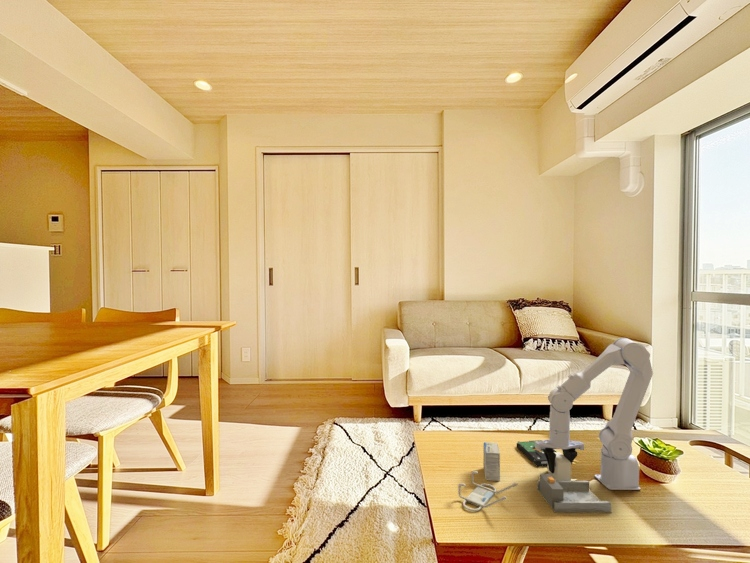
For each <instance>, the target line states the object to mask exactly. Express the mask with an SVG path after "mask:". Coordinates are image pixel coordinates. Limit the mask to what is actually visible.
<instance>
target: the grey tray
mask: <svg viewBox="0 0 750 563" xmlns="http://www.w3.org/2000/svg"><path fill="white" fill-rule="evenodd" d="M557 482H558V483H559V485H560V486H561V487H562V488H563V489H564V497H563V501H554V507H552V506H551V505H550V504H549V503H548V501H547V500H546V499H545V497H544V496H543V495H542V493H541V492H540V480H537V483H536V484H537V486H536V488H537V489H536V490H537V491H538V492H539V493H540V495H541V496H542V497H543V499H544V500H545V501H546V503H547V504H548V505H549V507H550V509H552V510H553V513H559V514H560V513H561V514H562V513H565V514H566V513H569V514H570V513H571V514H574V513H576V514H577V513H579V514H580V513H582V514H583V513H584V514H585V513H588V514H589V513H590V514H591V513H593V514H594V513H599V514H601V513H602V514H603V513H606V514H608V513H609V514H610V513H611V514H612V502H611V501H609V500H602V501H601V500H600V498H598V496H596V495H595V494H594V492H592V490H590V481H589V480H571V481H557Z"/></svg>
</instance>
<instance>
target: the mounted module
mask: <svg viewBox="0 0 750 563" xmlns="http://www.w3.org/2000/svg"><path fill="white" fill-rule="evenodd" d="M539 481H540V492H541V493H542V495H543V496H544V497H545V499H546V500H547V501H548V503H549V504H550V505H551V506H552V507H554V501H563V497H564V489H563V488H562V487H561V486H560V485H559V483H558V482H557V481H556V480H555V478H554V477H553V476H552V475H551V474H550V473H539ZM540 492H539V493H540ZM542 495H541V496H542ZM543 496H542V497H543ZM544 497H543V498H544ZM545 499H544V500H545ZM546 500H545V501H546ZM547 501H546V502H547ZM548 503H547V504H548ZM549 504H548V505H549ZM550 505H549V506H550Z"/></svg>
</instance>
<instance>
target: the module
mask: <svg viewBox="0 0 750 563" xmlns="http://www.w3.org/2000/svg"><path fill="white" fill-rule="evenodd" d="M554 453H555V454H556V458H555V471H554V473H551V472H550V471H549V466H547V473H548V474H551V476H552V477H553V478H554V479H555V480H556V481H572V465H571V462H570V461H569V460H568V459H567V458H566V457H565V456H564V455H563V453H562V452H561V451H556V452H554Z"/></svg>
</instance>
